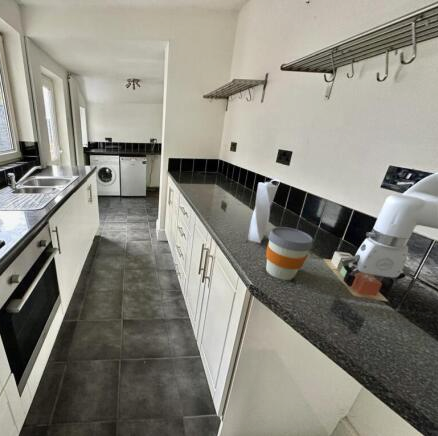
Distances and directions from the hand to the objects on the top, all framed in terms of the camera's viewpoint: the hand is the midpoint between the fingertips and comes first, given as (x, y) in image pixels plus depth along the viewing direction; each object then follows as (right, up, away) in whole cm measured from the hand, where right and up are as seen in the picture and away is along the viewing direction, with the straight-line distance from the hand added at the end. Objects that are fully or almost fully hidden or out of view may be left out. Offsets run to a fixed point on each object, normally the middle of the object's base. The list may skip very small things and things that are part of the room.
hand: (365, 286), depth 73 cm
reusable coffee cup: (-21, +2, +10) cm, 24 cm away
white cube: (+3, +4, +13) cm, 14 cm away
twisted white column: (-19, +12, +33) cm, 40 cm away
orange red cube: (0, -1, +1) cm, 1 cm away
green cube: (+2, +1, +7) cm, 7 cm away
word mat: (+2, +1, +7) cm, 7 cm away
